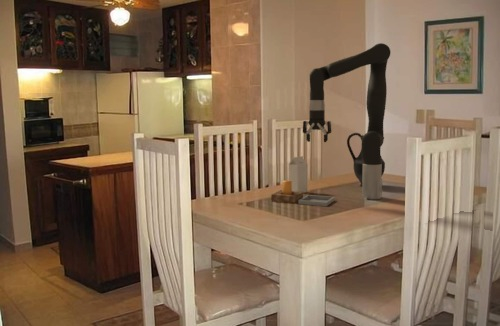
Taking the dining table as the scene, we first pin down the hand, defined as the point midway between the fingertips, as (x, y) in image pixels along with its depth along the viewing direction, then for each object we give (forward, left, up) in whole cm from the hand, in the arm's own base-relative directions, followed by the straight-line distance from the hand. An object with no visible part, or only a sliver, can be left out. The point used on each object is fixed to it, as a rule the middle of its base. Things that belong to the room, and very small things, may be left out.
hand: (316, 141), depth 252 cm
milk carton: (+13, -8, -28) cm, 32 cm away
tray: (-5, +15, -28) cm, 32 cm away
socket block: (+10, +15, -28) cm, 33 cm away
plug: (+10, +15, -28) cm, 33 cm away
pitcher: (-16, -38, -28) cm, 50 cm away
